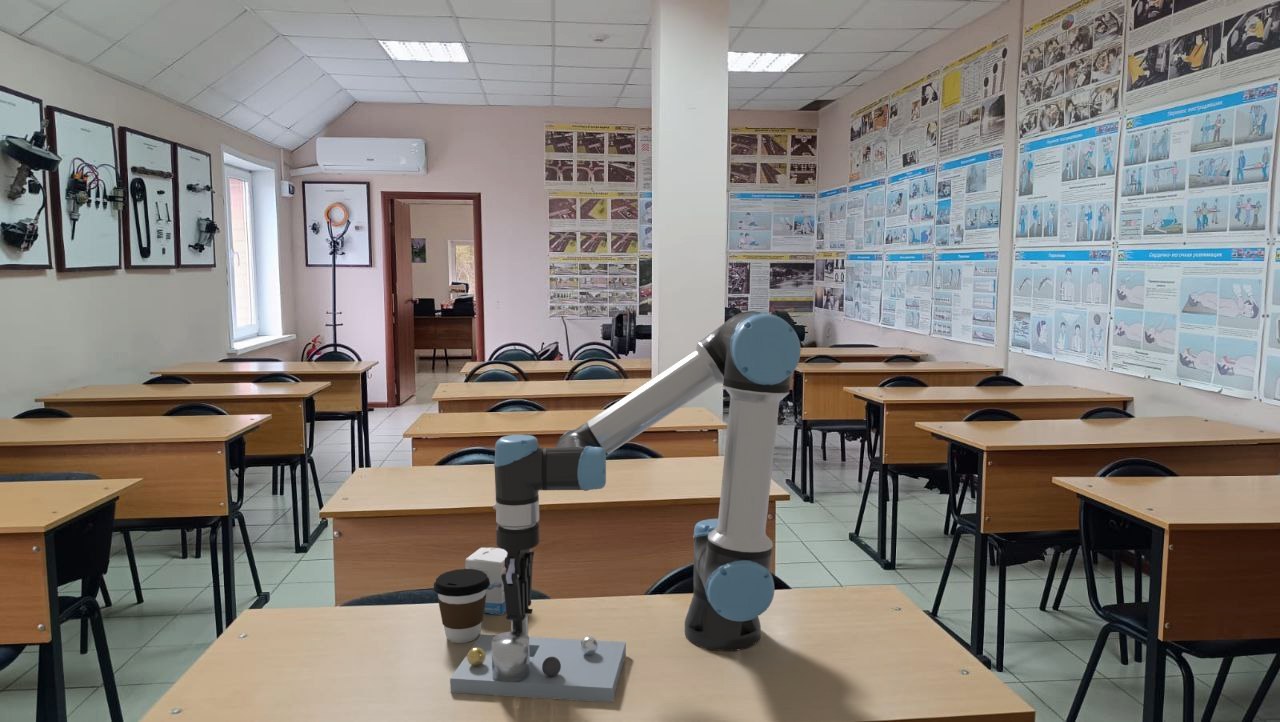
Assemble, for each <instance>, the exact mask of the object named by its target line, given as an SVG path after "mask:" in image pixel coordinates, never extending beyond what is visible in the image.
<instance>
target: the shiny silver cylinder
mask: <svg viewBox="0 0 1280 722" xmlns="http://www.w3.org/2000/svg"><path fill="white" fill-rule="evenodd" d="M495 635H496V636H495V637H494V638H493V639H492V676H493V678H494V679H495V680H497V681H500V682H517V681H520V680H523V679H525V678H526V677H527V676H528V675H529V673H530V649H529V637H530V636H529V634H528V635H527V634H525V633H522V632H514V631H513V632H511V631H505V632H501V633H499V634H495Z"/></svg>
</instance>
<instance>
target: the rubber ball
mask: <svg viewBox="0 0 1280 722" xmlns="http://www.w3.org/2000/svg"><path fill="white" fill-rule="evenodd" d="M560 669H561V664H560V661H559V660H558V659H557V658H556V657H548V658H546V659H545V660H544V662H543V664H542V670H543V672H544V674H545V675H547V676H550V677H553V676H555V675H557V674H558V673H559V671H560Z"/></svg>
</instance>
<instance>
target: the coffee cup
mask: <svg viewBox="0 0 1280 722" xmlns="http://www.w3.org/2000/svg"><path fill="white" fill-rule="evenodd" d="M489 585H490V580H489V578H488V577H487V574H486V573H484V572H483V571H480V570H476V569H466V568H461V569H460V568H459V569H454V570H449V571H446V572H443V573H441V574H440V575H438V577H436V578H435V582H434V583H433V591H434V592H435V593H436V594H437V602H438V606H439V611H440V617H441V622H442V625H443V627H444V632H445V636H446V639H447V640H448V639H449V640H450V642H451V641H452V642H451V643H454V642H455V643H456V644H464V643H465V644H466V643H469V642H473V641H474V640H477V639H478V637H480V636H479V635H481V634H480V633H481V628H482V621H483V620H484V608H485V601H486V589H487V588H488V587H489ZM449 640H448V641H449ZM455 643H454V644H455Z"/></svg>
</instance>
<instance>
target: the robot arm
mask: <svg viewBox="0 0 1280 722" xmlns="http://www.w3.org/2000/svg"><path fill="white" fill-rule="evenodd" d="M696 343H697V344H696V348H695V350H694V351H692V352H691V353H690V354H688V355H687V356H684V358H682V359H681V360H678V361H677V362H676V363H674V364H673V365H671V366H670V367H668V368H666V369H665V370H663V371H662V372H661V373H659V374H658V375H655V376H654V377H653V378H652V379H650V380H648V381H647V382H645V383H644V384H642V385H641V386H640V387H637V388H636V389H635V390H633V391H632V392H630V393H628V394H627V395H626V396H624V397H623V398H621V399H620V400H618V401H616V402H615V403H614V404H612V405H610V406H609V407H607V408H606V409H604V410H602V412H600V413H598V414H596V415H595V416H594V417H592V418H591V419H589V420H588V421H587V422H585V423H584V424H581V425H580V426H579V427H577V428H576V429H570V430H568V431H566V432H565V433H564V434H563V435H561V436H560V437H559V439H558V441H557V442H556V445H555V447H543V446H540V444H539V441H538V438H537V437H535V436H534V435H531V434H510V435H505V436H502V437H500V438H499V439H497V441H496V442H495V444H494V445H495V449H494V450H495V451H494V463H493V467H494V484H495V491H494V492H495V503H494V504H493V506H492V509H493V510H495V511H496V512H495V515H496V518H495V520H496V521H495V522H496V524H497V526H495V528H496V529H495V530H496V531H495V535H496V537H495V538H496V545H497V548H501V549H504V550H505V551H507V557H505V568H506V573H502V576H501V577H502V581H503V585H504V594H505V604H506V611H505V612H506V615H505V619H506V620H507V621H510V632H513V631H514V632H522V633H525V634H527V635H528V636H529V615H532V614H533V608H529V607H531V606H532V586H533V584H532V583H533V566H534V565H533V563H534V555H535V552H534V550H531V549H533V548H535V547H537V546H538V545H539V543H540V524H539V523H538V522H539V521H540V500H539V499H540V498H539V492H540V491H583V492H588V491H591V490H593V491H594V490H601V489H604V488H605V486H606V484H607V456H608V455H610V454H611V453H612V452H614V451H616V450H617V449H619V448H620V447H622V446H623V445H625V444H627V443H628V442H629V441H631V440H632V439H634V438H635V437H637V436H638V435H640V434H642V433H643V432H645V431H647V429H649V428H650V427H652V426H654V425H655V424H658V423H659V422H660V421H661V420H663V419H665V418H667V417H668V416H670V414H672V413H674V412H676V411H677V410H679V409H680V408H682V407H684V406H685V405H686V404H687V403H690V401H692V400H694V399H696V398H697V397H698V396H700V395H701V394H703V393H704V392H706V391H707V390H709V389H710V388H712V387H714V386H715V385H717V384H722V386H723V388H724V389H725V391H726V392H727V393H728V394H729V397H730V400H729V410H728V419H727V430H726V441H725V449H724V456H723V457H724V460H723V468H722V480H721V488H720V498H719V508H718V517H717V518H708V519H704V520H700V521H698V522H697V523H696V524H695V525H694V530H693V536H692V539H693V596H692V598H691V601H690V604H689V607H688V610H687V613H686V616H685V619H684V636H685V637H686V639H687V640H688V641H689V642H691V643H692V644H695V645H696V646H699V647H701V648H704V649H709V650H713V651H714V650H715V651H723V652H724V651H725V652H726V651H737V650H739V651H740V650H743V649H748V648H750V647H752V646H754V645H755V644H757V643H758V642H759V641H760V640H761V637H762V636H761V634H762V632H761V629H762V628H761V627H762V626H761V621H760V618H759V616H761V615H763V613H764V612H766V611H767V610H768V608H769V607H770V606H771V604H772V602H773V600H774V595H775V581H774V577H773V575H772V573H771V564H772V554H773V546H774V545H773V540H772V539H770V538H769V536H768V535H767V534H766V529H767V520H768V510H769V501H770V492H771V483H772V473H773V465H774V464H773V463H774V456H775V445H776V438H777V437H776V435H777V429H778V428H777V427H778V416H779V407H780V402H781V401H782V400H783V399H784V398H786V397H787V396H788V395H789V394H790V390H791V389H790V388H791V387H790V386H791V382H792V381H791V380H792V374H793V373H794V372H795V370H797V369H796V368H797V367H798V365H799V362H800V358H801V353H802V352H801V350H802V349H801V342H800V339H799V337H798V334H797V332H796V331H795V329H794V328H793V327H792V325H790V324H789V323H788V322H787V321H786V320H785V319H783V318H782V317H780V316H778V315H776V314H774V313H768V312H760V311H754V310H752V311H751V310H749V311H743V312H740V313H737V314H735V315H734V316H732V317H730V318H729V319H728V320H726V321H725V322H724V323H723V324H721V325H720V326H719V327H717V328H716V329H715V330H713V331H712V332H711V333H709V334H708V335H707V336H705V337H704V338H702V339H701V340H699V341H698V342H696ZM528 614H529V615H528Z"/></svg>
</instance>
